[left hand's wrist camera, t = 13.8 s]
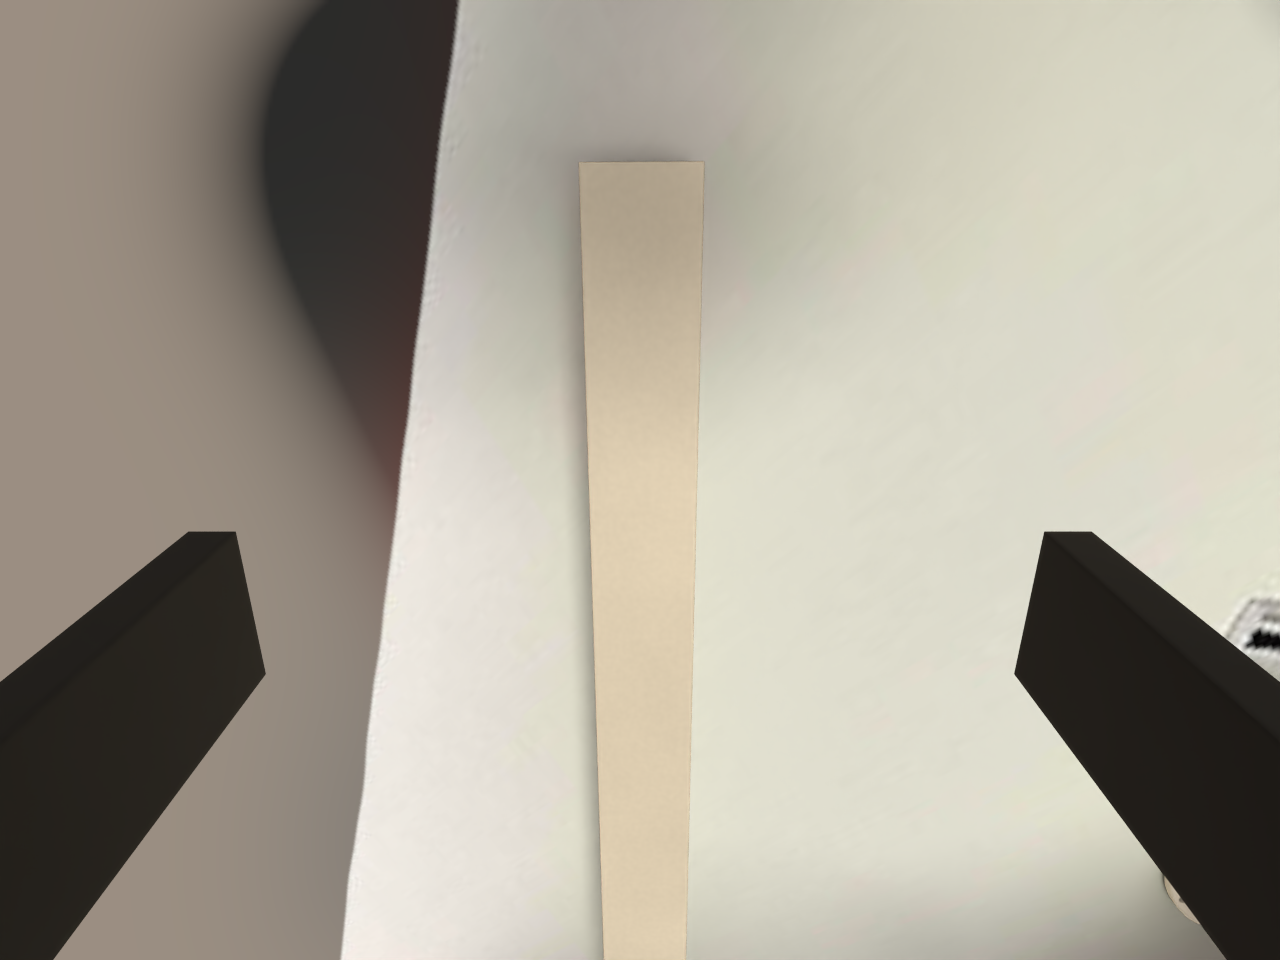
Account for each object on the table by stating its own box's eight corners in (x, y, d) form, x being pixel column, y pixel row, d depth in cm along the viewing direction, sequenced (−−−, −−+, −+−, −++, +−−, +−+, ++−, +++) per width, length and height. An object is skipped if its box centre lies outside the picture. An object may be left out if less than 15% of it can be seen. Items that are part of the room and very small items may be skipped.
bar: (588, 163, 42) (578, 161, 34) (693, 163, 42) (704, 161, 34) (612, 1030, 67) (609, 1135, 60) (677, 1030, 67) (681, 1134, 60)
